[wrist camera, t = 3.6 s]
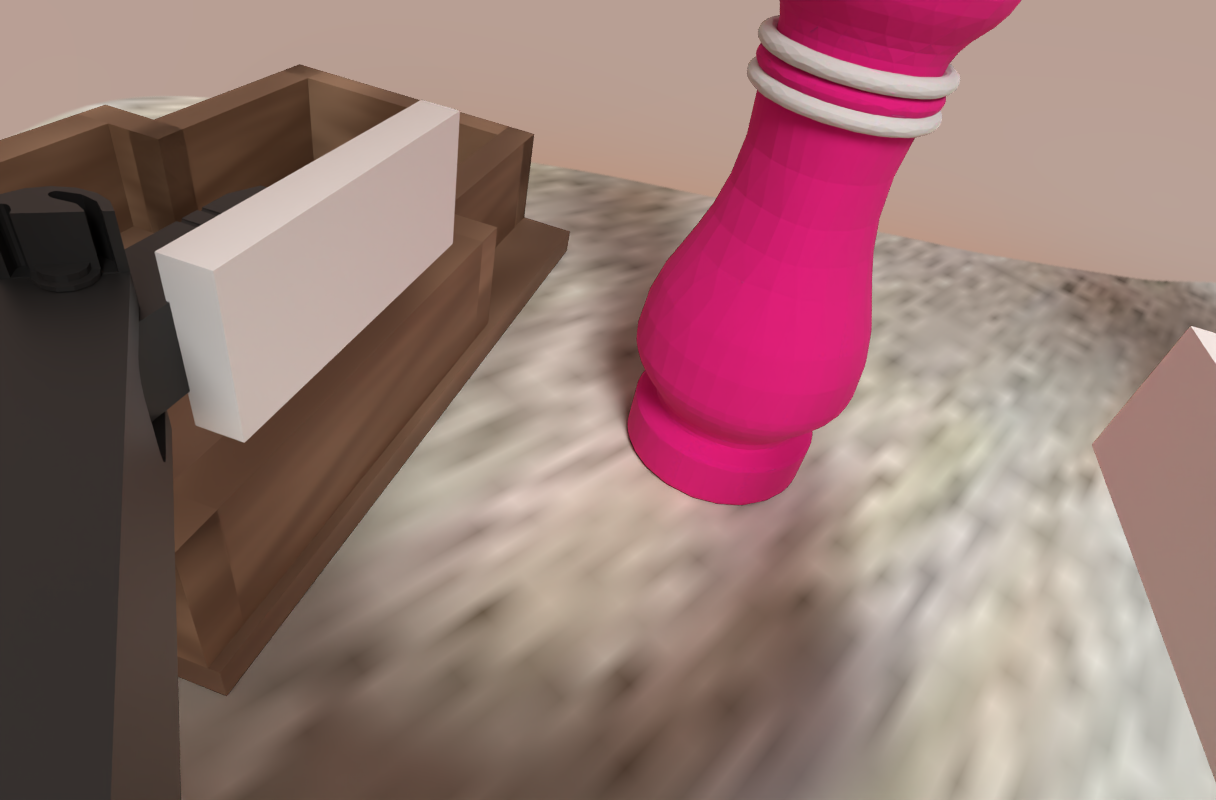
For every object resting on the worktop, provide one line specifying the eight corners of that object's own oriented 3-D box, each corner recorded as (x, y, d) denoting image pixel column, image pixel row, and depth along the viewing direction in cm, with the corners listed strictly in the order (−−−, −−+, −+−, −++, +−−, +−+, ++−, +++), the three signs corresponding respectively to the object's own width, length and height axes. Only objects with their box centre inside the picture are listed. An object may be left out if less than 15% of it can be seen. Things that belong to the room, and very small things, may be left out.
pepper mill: (724, 362, 31) (955, -287, 18) (850, 481, 26) (1269, -258, 14) (575, 403, 27) (735, -380, 14) (695, 548, 23) (1072, -378, 10)
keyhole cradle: (566, 250, 35) (583, 148, 32) (226, 696, 17) (187, 560, 14) (266, 156, 37) (254, 50, 34) (-343, 467, 18) (-496, 299, 15)
